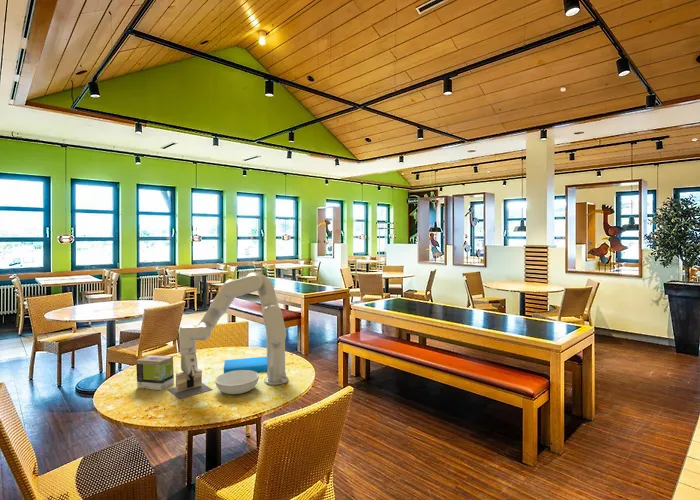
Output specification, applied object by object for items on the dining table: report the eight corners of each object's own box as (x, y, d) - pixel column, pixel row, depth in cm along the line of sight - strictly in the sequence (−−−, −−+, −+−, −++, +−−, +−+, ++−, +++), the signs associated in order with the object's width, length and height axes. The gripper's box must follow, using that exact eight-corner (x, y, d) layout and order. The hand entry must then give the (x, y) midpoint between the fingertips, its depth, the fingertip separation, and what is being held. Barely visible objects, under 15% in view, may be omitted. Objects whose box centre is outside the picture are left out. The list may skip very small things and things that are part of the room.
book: (224, 360, 240) (267, 355, 247) (224, 367, 240) (267, 362, 247) (223, 369, 224) (269, 364, 230) (223, 377, 224) (269, 371, 231)
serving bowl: (214, 386, 209) (214, 373, 209) (256, 380, 216) (255, 367, 216) (216, 402, 189) (216, 387, 189) (261, 395, 197) (261, 381, 196)
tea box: (174, 383, 213) (173, 356, 212) (160, 391, 203) (159, 362, 202) (150, 381, 217) (149, 354, 216) (136, 388, 207) (135, 359, 206)
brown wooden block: (201, 385, 207) (201, 370, 207) (177, 391, 199) (178, 374, 199) (199, 384, 209) (199, 368, 209) (175, 389, 201) (176, 373, 200)
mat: (212, 390, 203) (212, 389, 203) (180, 399, 192) (180, 398, 192) (198, 382, 215) (198, 381, 215) (167, 390, 203) (167, 389, 203)
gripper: (202, 351, 200) (203, 388, 201) (188, 345, 211) (190, 380, 212) (187, 355, 195) (188, 392, 195) (174, 348, 206) (175, 384, 207)
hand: (189, 385), depth 204 cm, fingers closed on brown wooden block, 2 cm apart
